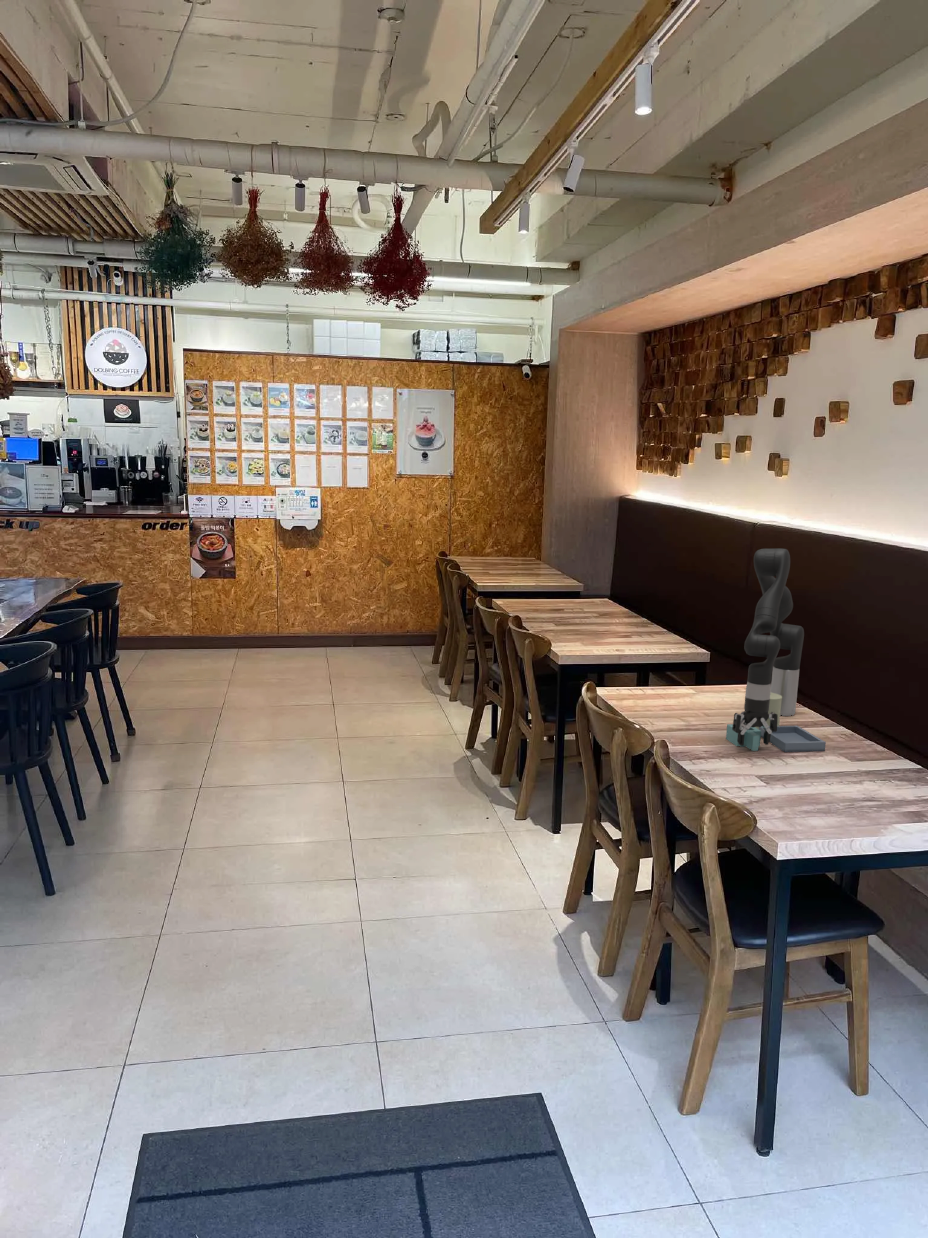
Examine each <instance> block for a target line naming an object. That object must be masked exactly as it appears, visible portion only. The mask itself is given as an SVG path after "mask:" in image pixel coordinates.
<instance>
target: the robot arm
mask: <svg viewBox="0 0 928 1238" xmlns="http://www.w3.org/2000/svg"><path fill="white" fill-rule="evenodd" d="M753 555H754V556H753V568H754V571H755V574H756V577H757V579H758V583H759V585H760V589H761V593H762V596H761V597H760V598H759V599H758V602H757V603H756V605H755V610H754V611H755V612H754V618H753V623H752V626H751V628H750V631H749V633H748V635H747V636H746V638H745V641H744V644H743V645H744V646H743V647H744V648H743V649H744V652H745V653H746V655H748V656H751V657H760V658H766V659H765V660H764V661H762V662H761V661H760V662H754V663H751V664H750V665H748V670H747V671H748V672H747V683H746V687H745V697H744V705H743V708H744V713H743V714H741V713H738V712H735V713H734V715H733V722H732V724H733V727H732V730H733V731H735V732H736V733H738V738H737V742H738V743H739V745H741V746H740V747H744V746H743V745H744V736H745V735H744V733H745V732H746V731H747V730H748V729H749V728H750V727H761V726H762V727H763V729H764V730H765V732H764V738H762V740H763V742H762V743H763V744H764V745H766V746H768V745H769V744H771V743H770V737H771V733H772V732H776V731H777V720H778V715H777V714H775V713H774V712H771V713H769V714H768V711H769V704H770V695H771V694H770V693H775V694H779V695H781V696H782V701H781V711H780V716H781V715H782V716H783V717H791V715H792V716H795V715H796V708H797V698H798V688H799V679H800V678H799V677H800V667H801V659H802V651H803V646H804V637H805V630H804V627H802V626H801V625H797V624H796V625H795V624H789V623H783V621H785V619H786V618H788V616H790V614H791V613H792V611H793V608H794V602H793V597H792V593H791V591H790V589H789V588H788V586H786V584H787V579H788V577H789V574H790V570H791V569H790V568H791V555H790V552H789V550H788V549H787V548H761V549H758V550H756V551H755V552H754V554H753ZM765 633H766V634H765ZM767 633H769V634H770V635H768V634H767ZM780 649H781V650H789V651H790V653H789V654H788V655H785V656H778V654H779V651H780ZM777 656H778V657H777ZM794 714H795V715H794ZM742 718H744V721H743V722H742V724H741V726H740V722H741V721H742ZM768 718H769V719H770V728H769V726H768V724H767V723H766V721H767V719H768ZM746 724H747V725H746Z"/></svg>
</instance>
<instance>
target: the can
mask: <svg viewBox="0 0 928 1238" xmlns="http://www.w3.org/2000/svg"><path fill="white" fill-rule="evenodd" d="M770 694H771V695H770V704H769V711H768V714H769V713H771V712H774V713H775V714H777V715H778V720H777V726H780V721H781V715H780V711H781V701H782V696H781V695H779V694H775V693H770ZM766 723H767V724H768V726H770V719H769V718H768V719H767V721H766ZM761 727H762V726H761ZM755 728H757V729H759V727H755Z"/></svg>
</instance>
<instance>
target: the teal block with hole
mask: <svg viewBox="0 0 928 1238" xmlns="http://www.w3.org/2000/svg"><path fill="white" fill-rule="evenodd" d="M732 727H733V723H732V724H731V723H728V724H726V733H725V734H726V735H725V740H727V741H728V742H730V743H732V744H733V745H734V746H736V747H737V746H740V747H746V748H747V749H749V750H750V749H751V750H750V751H751V752H757V751H759V746H761V738H762V737H761V731H760V730H759V729H757V728H755V727H750V728H749V729H748V730H747V731H746V732H745V733H744V735H745V736H744V745H743V746H741V745H739V743H738V742H737V738H738V733H736V732H735V731H733V730H732Z"/></svg>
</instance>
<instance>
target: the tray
mask: <svg viewBox="0 0 928 1238" xmlns="http://www.w3.org/2000/svg"><path fill="white" fill-rule="evenodd" d="M769 728H770V726H769ZM759 730H760V731H761V738H762V739H763V738H764V732H765V730H764V729H763V727H759ZM771 743H772V744H771ZM769 744H771V745H773V746H774V745H775V746H774V747H776V748H777V749H779V750H780V749H781V751H782V752H783V751H784V753H803V752H807V753H809V752H826V744H827V742H826V741H824V740H823V739H821V737H818V736H816V735H815V734H812V733H811V732H809V731H808V730H806V729H804V728H803V727H801V726H799V725H779V726H777V731H776V732H772V733H771V737H770V743H769Z"/></svg>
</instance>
